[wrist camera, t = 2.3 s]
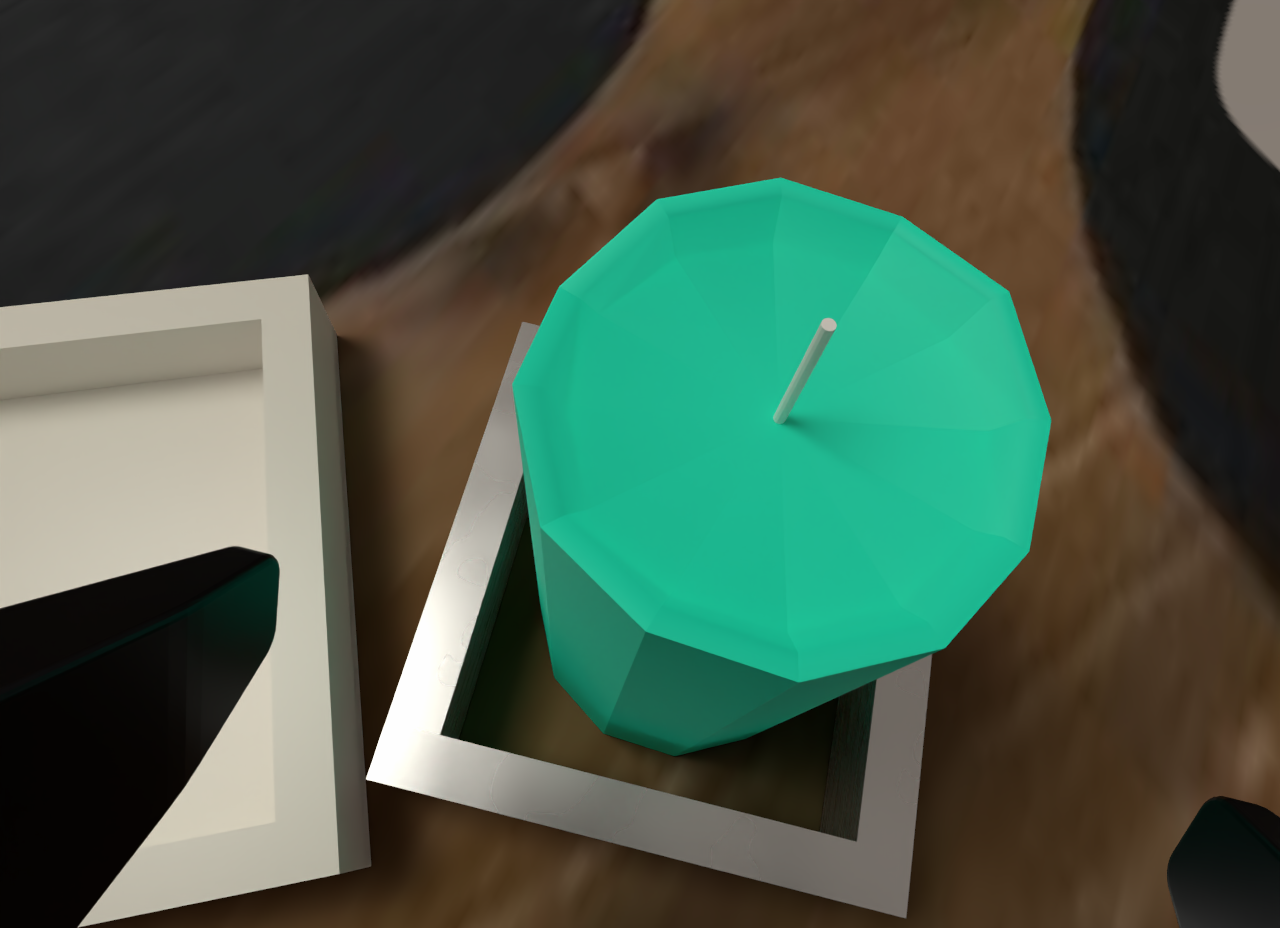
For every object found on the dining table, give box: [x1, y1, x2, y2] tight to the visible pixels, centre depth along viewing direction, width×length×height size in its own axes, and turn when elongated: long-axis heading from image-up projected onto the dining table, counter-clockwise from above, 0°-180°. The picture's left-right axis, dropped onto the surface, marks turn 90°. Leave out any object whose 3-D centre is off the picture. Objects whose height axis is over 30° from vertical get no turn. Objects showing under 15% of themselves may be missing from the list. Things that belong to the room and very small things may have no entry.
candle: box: [512, 178, 1051, 756], centre depth 13 cm, size 6×6×12 cm
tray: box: [0, 275, 371, 927], centre depth 17 cm, size 12×12×2 cm
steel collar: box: [366, 322, 932, 918], centre depth 18 cm, size 10×10×2 cm
